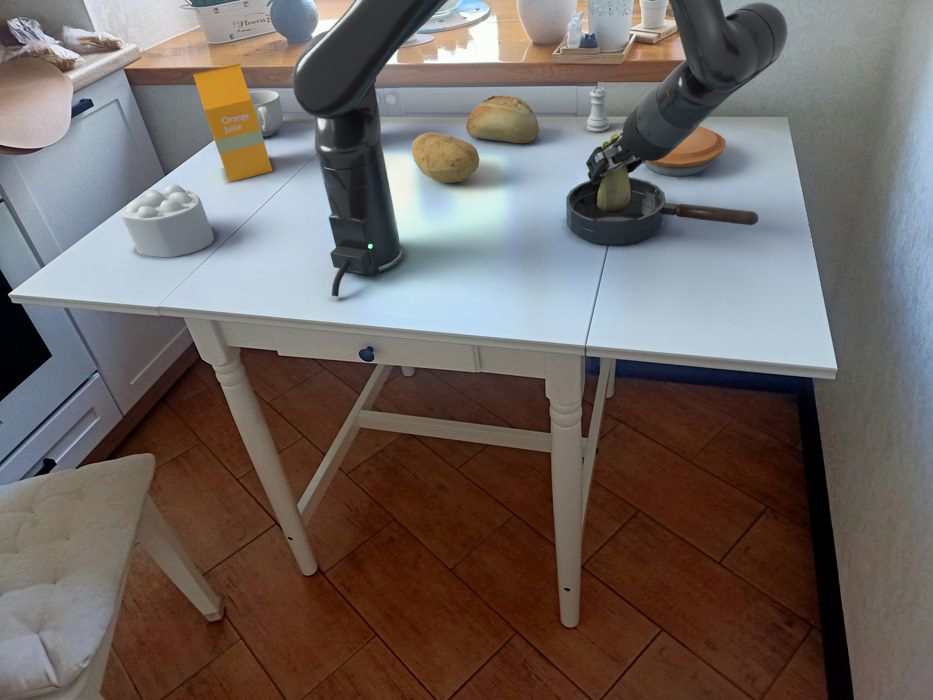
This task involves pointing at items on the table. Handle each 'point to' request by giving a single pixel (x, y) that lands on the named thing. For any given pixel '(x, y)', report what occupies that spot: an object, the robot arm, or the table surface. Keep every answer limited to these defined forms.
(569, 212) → the pan
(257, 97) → the teacup
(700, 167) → the pie
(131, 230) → the lumpy-topped squat cylinder
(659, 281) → the table surface
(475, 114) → the bread roll
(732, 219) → the pan handle
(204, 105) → the orange juice
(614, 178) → the fennel bulb
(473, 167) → the potato
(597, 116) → the rook chess piece
